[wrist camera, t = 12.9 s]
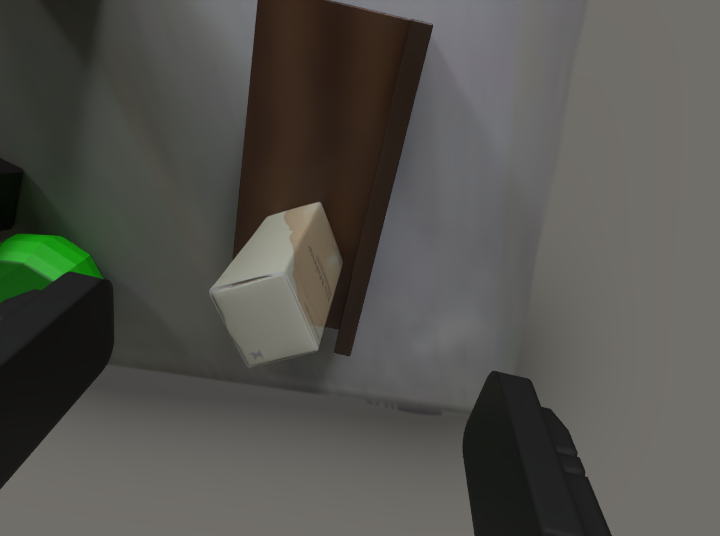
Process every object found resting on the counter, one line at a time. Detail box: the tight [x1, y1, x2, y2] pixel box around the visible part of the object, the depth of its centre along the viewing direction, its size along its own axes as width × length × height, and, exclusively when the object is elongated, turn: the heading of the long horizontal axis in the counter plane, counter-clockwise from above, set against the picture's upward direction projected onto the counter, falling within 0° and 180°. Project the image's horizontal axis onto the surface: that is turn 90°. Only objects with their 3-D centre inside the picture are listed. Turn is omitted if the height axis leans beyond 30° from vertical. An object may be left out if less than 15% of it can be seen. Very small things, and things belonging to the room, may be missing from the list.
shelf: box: [233, 0, 433, 356], centre depth 34 cm, size 10×22×10 cm, turn 168°
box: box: [209, 202, 343, 368], centre depth 29 cm, size 5×4×11 cm
